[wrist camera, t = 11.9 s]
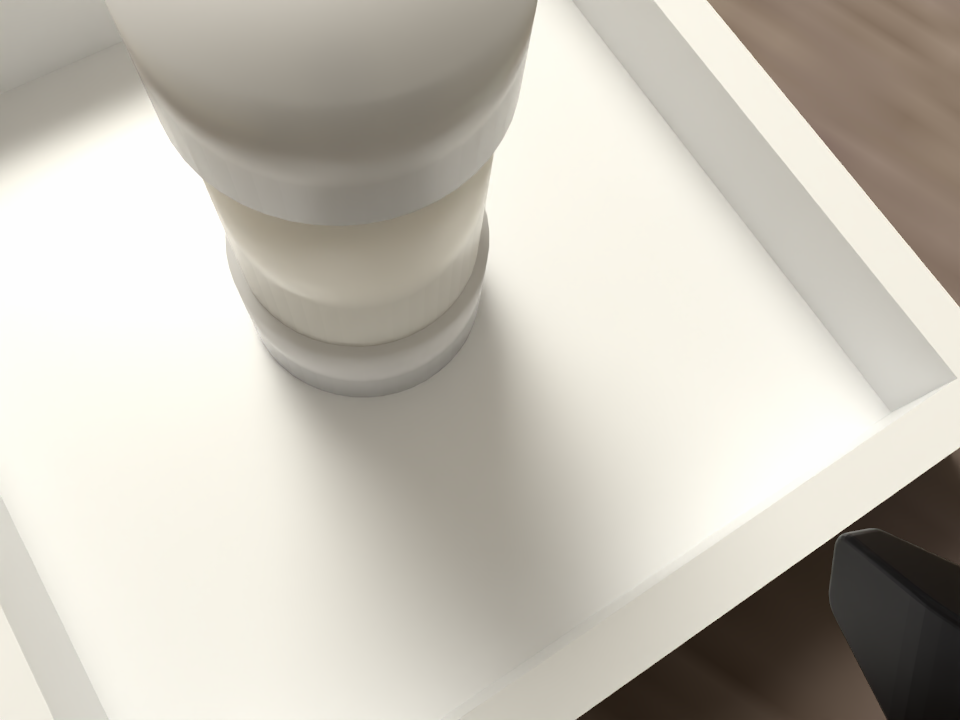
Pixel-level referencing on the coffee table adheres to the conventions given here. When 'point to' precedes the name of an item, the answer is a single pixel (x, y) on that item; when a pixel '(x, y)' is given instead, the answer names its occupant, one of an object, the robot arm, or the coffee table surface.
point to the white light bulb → (342, 164)
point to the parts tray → (442, 398)
